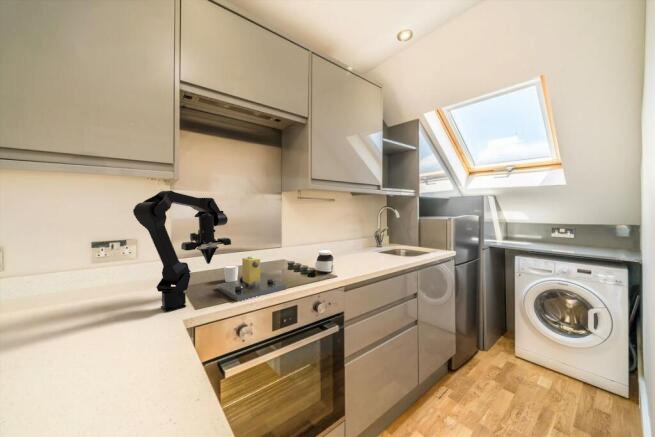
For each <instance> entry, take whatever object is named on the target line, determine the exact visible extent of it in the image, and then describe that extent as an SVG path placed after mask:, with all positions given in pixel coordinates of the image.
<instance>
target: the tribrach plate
mask: <svg viewBox="0 0 655 437" xmlns="http://www.w3.org/2000/svg"><path fill="white" fill-rule="evenodd" d="M216 288H217V290H218V291H220V292H221V293H223V294H225V295H226V296H227V297H229V298H231V299H232V300H234V301H236V303H237V302H238V301H239V302H242V300H243V301H245V299H246V300H249V299H248V298H250V299H253V298H252V297H254V298H256V296H258V297H260V295H262V296H265V295H270V294H272V293H276V292H280V291H284V290H286V289H287V284H286V283H283V282H282V281H281V282H280V281H277V280H275V278H270V277H269V276H265V275H261V274H260V281H259V280H258V281H254V284H253V283H251V284H249V283H247V282H245V281H243V275H242V276H240V277H239V279H237V280H236V281H231V282H226V281H225V282H223V283H217V284H216ZM264 294H265V295H264Z"/></svg>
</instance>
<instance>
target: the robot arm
mask: <svg viewBox="0 0 655 437" xmlns="http://www.w3.org/2000/svg"><path fill="white" fill-rule="evenodd" d="M173 204H175V205H178V206H179V205H180V206H186V207H190V208H192V209H193V210H195V211H197V213H195V215H194V218H198V227H199V229H198V230H197V233H196V232H191V233H190V234H189V239H190V241H185V242H184V241H183V242H182V243H181V250H182V251H186V252H187V251H195V250H198V251H200V252H201V254H202V255H203V258H204V261H205V263H206V264H208V265H209V264H211V262H212V259H213V257H214V255H215V253H216V251H217V249H219V248H220V247H219V246H218V245H224V246H231V245H232V240H231V239H230V238H229V237H219V238H215V232H216V229H215V227H221V226H225V225H227V224H228V216H227V215H226V213H224V210H220V208H219V206H218V204H217V202H216V201H215V199H214V198H213V197H197V196H191V195H187V194H184V193H180V192H175V191H173V190H162V191H159V192H158V193H156V194H155V195H154V196H151V197H149V198H147V199H145V200H144V201H142V202H139V203H136V205H135V206H134V208H133V210H132V213H133V216H134V217H135V219H136V220H137V221H138V223H139V224H140V225H141V226H143V228H145V229H146V230H147V232H148V233H149V236H150V238H151V240H152V243H153V244H154V247H155V250H156V252H157V254H158V256H159V259H160V261H161V263H162V264H161V265H162V266H163V267H162V270H161V274H162V275H161V276H162V278H161V279H160V281H159V282H158V284H157V285H156V287H155V288H156V290H157V292H158V293H159V292H161V306H160V308H161V310H163V311H164V312H165V313H167V312H169V313H170V312H172V311H175V310H179V309H184V308H186V307H187V304H186V303H187V301H186V300H187V299H186V298H187V296H186V292H185V291H187V290H188V288H189V283H190V279H191V269H190V268H189V265H188V264H189V263H188V262H182V261H181V260H179V257H178V255H177V253H176V250H175V248H174V245H173V242H172V240H171V238H170V236H169V233H168V231H167V228H166V223H167V222H166V221H167V214H166V213H167V212H168V211H169V210H170V209H171V207H172V205H173Z"/></svg>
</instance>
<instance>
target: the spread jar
mask: <svg viewBox="0 0 655 437" xmlns="http://www.w3.org/2000/svg"><path fill="white" fill-rule="evenodd" d="M318 254H319V255H317V257H316V262H315V264H314V268H316V271H317V272H318V273H319V274H321V273H322V274H323V275H326V274H327V273H329V274H332V273H333V271H334V266H335V264H334V263H335V262H334V259H335V258H334V256H333V255H332V251H331V250H326V249H325V250H319V251H318ZM327 275H328V274H327Z"/></svg>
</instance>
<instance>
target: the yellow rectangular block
mask: <svg viewBox="0 0 655 437" xmlns="http://www.w3.org/2000/svg"><path fill="white" fill-rule="evenodd" d="M241 261H242V267H241V268H242V270H241V271H242V276H243V281H245V282H247V283H249V284H251V283H253V284H254V281H258V280H259V281H260V276H261V258H258V257H255V256H254V255H253V256H252V255H251V256H247V257H243V258H242V259H241Z"/></svg>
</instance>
